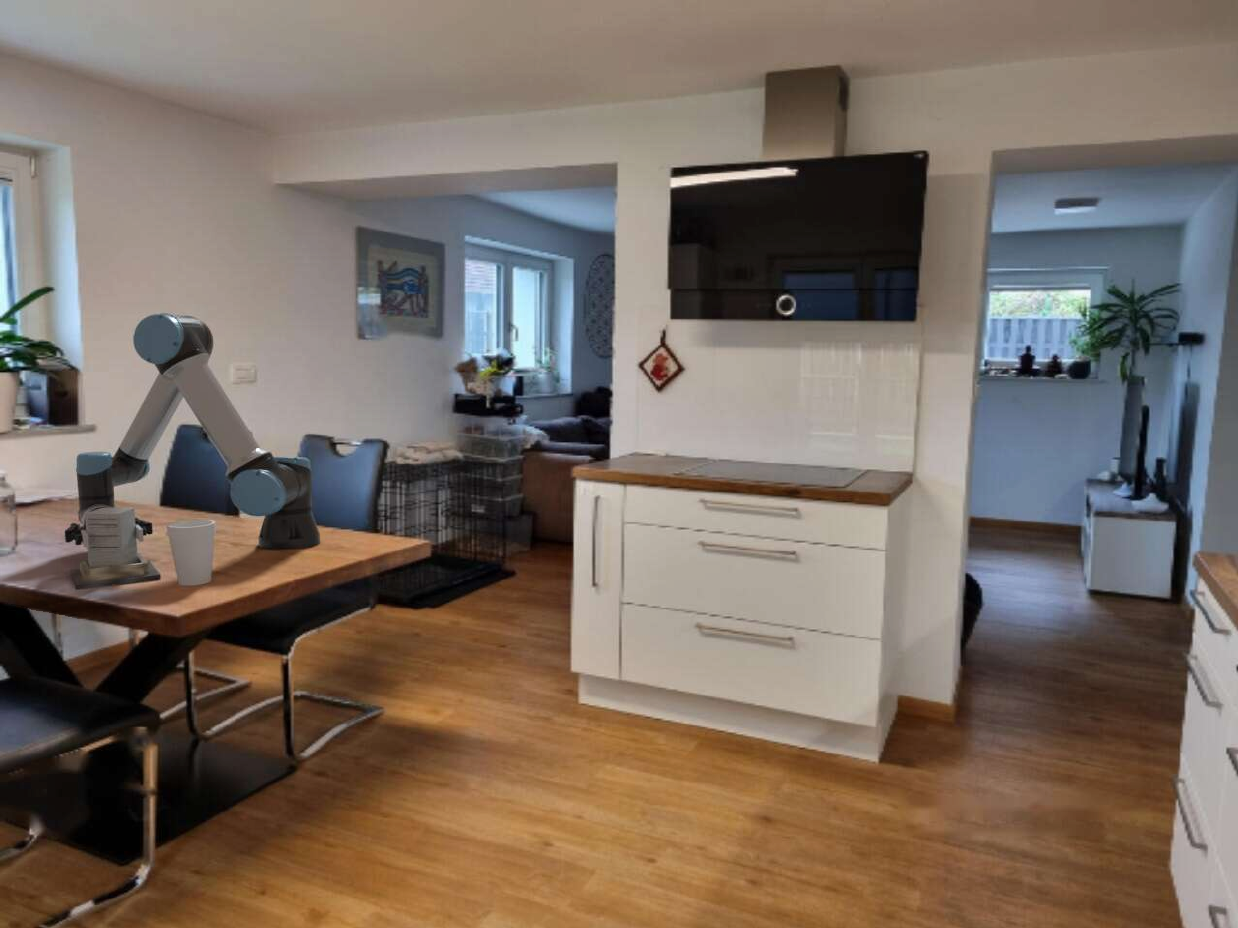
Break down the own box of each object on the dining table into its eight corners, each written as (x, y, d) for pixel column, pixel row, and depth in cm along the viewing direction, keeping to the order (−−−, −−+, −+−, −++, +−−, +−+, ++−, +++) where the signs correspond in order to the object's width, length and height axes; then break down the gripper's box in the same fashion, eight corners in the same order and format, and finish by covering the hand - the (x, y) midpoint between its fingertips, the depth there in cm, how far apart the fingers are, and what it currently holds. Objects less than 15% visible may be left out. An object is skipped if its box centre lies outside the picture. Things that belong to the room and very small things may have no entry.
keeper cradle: (149, 564, 204) (148, 550, 203) (160, 578, 191) (159, 563, 191) (69, 574, 194) (68, 559, 194) (75, 590, 182) (74, 573, 181)
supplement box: (104, 562, 196) (101, 507, 194) (138, 561, 196) (135, 507, 195) (87, 570, 188) (83, 513, 187) (122, 569, 189) (119, 513, 187)
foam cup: (225, 576, 194) (222, 519, 192) (207, 587, 185) (204, 527, 183) (182, 576, 193) (179, 519, 192) (162, 587, 184) (158, 527, 183)
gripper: (155, 532, 213) (172, 548, 195) (47, 543, 200) (54, 562, 182) (154, 502, 212) (170, 516, 194) (45, 511, 199) (51, 526, 181)
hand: (114, 538), depth 188 cm, fingers closed on supplement box, 10 cm apart
